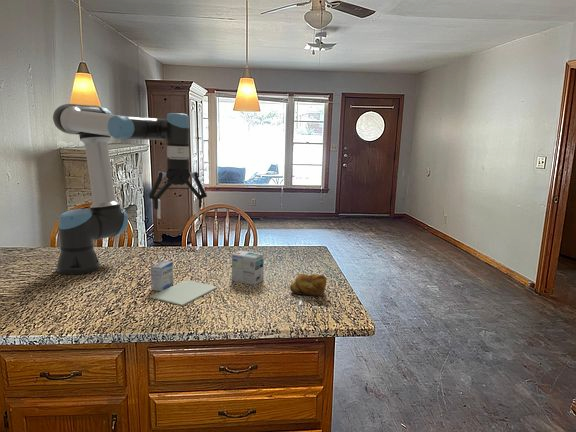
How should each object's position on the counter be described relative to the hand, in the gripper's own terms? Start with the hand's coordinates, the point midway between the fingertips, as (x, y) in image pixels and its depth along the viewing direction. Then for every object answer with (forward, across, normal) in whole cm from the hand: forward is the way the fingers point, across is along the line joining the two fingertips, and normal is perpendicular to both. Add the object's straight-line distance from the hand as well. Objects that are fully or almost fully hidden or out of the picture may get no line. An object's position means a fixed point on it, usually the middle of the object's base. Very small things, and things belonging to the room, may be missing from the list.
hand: (178, 217), depth 150 cm
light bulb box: (+25, +25, -8) cm, 36 cm away
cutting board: (+24, 0, -12) cm, 27 cm away
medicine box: (+25, -6, -4) cm, 26 cm away
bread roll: (+24, +40, -27) cm, 54 cm away
